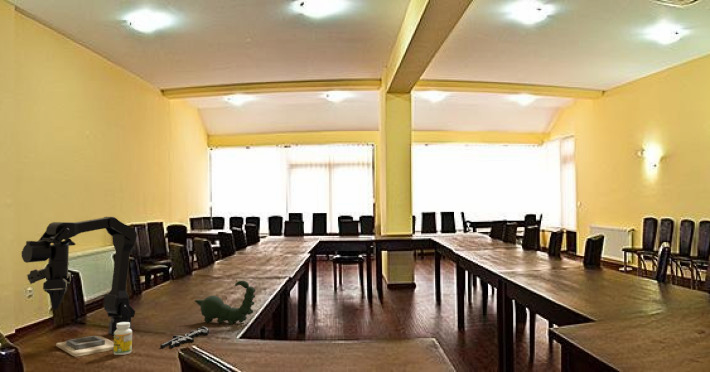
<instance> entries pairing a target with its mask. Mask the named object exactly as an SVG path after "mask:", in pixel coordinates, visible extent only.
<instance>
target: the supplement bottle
mask: <svg viewBox="0 0 710 372" xmlns="http://www.w3.org/2000/svg"><path fill="white" fill-rule="evenodd" d="M116 327H117V330H115V332H114V336H113V342H114V349H113V350H112V351H113V355H114V356H125V355H128V354H131V353H132V350H133V349H132V345H133V333H132V332H133V330H132V328H131V329H130V328H129V327H130V322H120V323H117V325H116Z"/></svg>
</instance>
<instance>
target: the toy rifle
mask: <svg viewBox="0 0 710 372" xmlns="http://www.w3.org/2000/svg"><path fill="white" fill-rule="evenodd" d="M209 332H210V329H209V328H208V327H207V326H200V327H199V328H198V327H197V328H196V330H191V331H189V333H187V332H186V333H185V334H184V335H177V334H176V335H175V334H174V335H172V339H169V340H167V341H165V342H163V343H161V344H160V349H165V348H167V347H169V346H170V349H174V348H175V347H181V345H183V344H184V343H185V344H188V343H195V337H199V336H209Z"/></svg>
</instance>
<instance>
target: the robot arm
mask: <svg viewBox="0 0 710 372" xmlns="http://www.w3.org/2000/svg"><path fill="white" fill-rule="evenodd" d="M104 229H105V231H106V233H108V234H109V235H110V236H111V237H112V244H113V247H114V249H115V256H114V263H113V274H112V282H111V283H112V284H111V289H110V291H109V293H107V294H104V296H103V303H102V306H103V307H104V308H103V309H104V310H105V312H106V314H107V316H108V318H110V321H109V322H108V323H109V325H108V332H107V333H108V334H109V335H111V336H113V335H114V332H115V330H117V327H116V325H117V323H120V322H130V327H129V328H130V329H131V330H132V328H131V327H132V318H134V317H135V314H136V310H135V309H134V308H133V307H132V305H130V296H129V293H128V292H127V283H128V274H129V273H128V272H129V265H130V257H131V256H130V255H131V251H133V248H134V247H135V245H136V241H137V237H138V232H137V231H136V229H135V228H133V227H130V226H128V225H127V224H126V223H123V222H122V221H120V220H118V218H116V217H114V216H104V217H100V218H93V219H89V220H88V219H87V220H81V221H80V220H79V221H75V222H73V221H72V222H71V221H70V222H69V221H67V222H65V221H62V222H61V221H59V222H58V221H55V222H54V221H53V222H50V223H48V226H47V227H46V229H45V232H44V233H43V234H42V235H41V237H40V238H39V239H38V240H35V241H34V240H26V242H25V245H24V246H23V248H22V251H21V259H22V260H23V262H24V263H27V264H28V263H38V262H47V261H48V263H47V264H46V266H45V267H44V268H42V269H36V268H35V269H33V270H30V272H29V273H28V274H26V277H27V280H28V281H29V284H30V285H32V284H34V283H36V282H39V281H41V280H44V279H45V281H44V282H43V284H42V285H43V286H42V290H43V291H44V292H46V293H47V294H49V296H50V301H51V306H52V309H53V311H54V310H55V311H56V310H58V309H59V306H60V305H61V303H62V301H63V300H64V297H65V295H66V293H67V290H68V288H69V286H70V284H71V281H72V280H71V279H72V275H71V274H70V273H69V265H70V261H69V251H70V247H72V246H76V243H75V242H74V241H73V240H72V239H71V238H73V237H76V236H77V235H79V234H81V233H88V232H93V231H100V230H104ZM132 334H133V331H132Z"/></svg>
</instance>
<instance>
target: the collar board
mask: <svg viewBox="0 0 710 372" xmlns="http://www.w3.org/2000/svg"><path fill="white" fill-rule="evenodd" d="M55 345H56V347H57V348H59V349H61V350H62V351H64V352H65V353H68V354H69V355H71V356H73V357H74V358H77V357H83V356H88V355H94V354H99V353H103V352H109V351H113V349H114V340H113V341H112V340H110V339H108V338H106V337H103V336H102V335H90V336H83V337H78V338H72V339H66V340H65V341H63V342H56V344H55Z"/></svg>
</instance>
